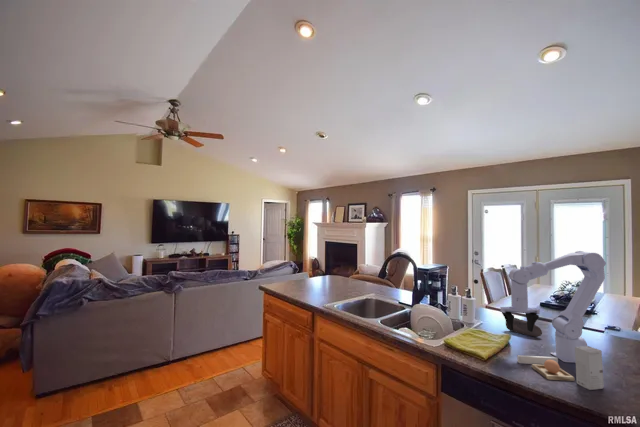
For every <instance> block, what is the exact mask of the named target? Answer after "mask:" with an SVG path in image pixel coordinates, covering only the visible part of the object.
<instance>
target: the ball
mask: <svg viewBox="0 0 640 427" xmlns="http://www.w3.org/2000/svg"><path fill="white" fill-rule="evenodd" d="M543 365H544V366H545V368H546V370H547V371H549V372H550V373H558V372H559V371H560V368H561V366H560V364H559V362H558V363H557V362H555V361H554V360H546V361H545V363H544V364H543Z"/></svg>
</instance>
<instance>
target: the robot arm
mask: <svg viewBox="0 0 640 427" xmlns="http://www.w3.org/2000/svg"><path fill="white" fill-rule="evenodd" d="M606 265H607V262H606V261H605V259H604V258H603V256H602V255H601V254H599V253H598V252H588V251H581V250H577V251H575V252H570V253H567V254H564V255H562V256H559V257H557V258H554V259H552V260H549V261H546V262H540V261H532V262H531V263H530V264H528V265H525V266H523V265H521V266H520V267H519V268H513V269H511V270H510V271H509V273H508V278H509V280H510V284H511V285H510V290H511V291H510V294H511V295H510V296H511V297H510V300H511V306H500V308H499V309H500V312H501V314H502V316H503V317H504V320H505V323H506V322H507V325H508V329H507V330H509V331H511V332H513V319H514V318H515V315H514V314H515V313H516V314H525V318H526V321H527V329H528V330H529V331H531V332H532V331H533V327H534V324H535V325H536V322H537V320H539V317H540V316H539V315H540V314H541V311H540V309H539V308H535V307H529V298H528V297H529V295H528V293H529V292H528V283H529V282H530V281H532V280H535V279H538V278H540V277H544V276H547V274H548V272H549V271H551V270H555V269H560V268H564V267H567V266H576V267H577V268H578V269H579V270H580V272H581V273H582V274H583V276H584V277H583V278H582V281H581V282H580V283H579V285H578V287H577V289H576V291H575V293H574V294H573V296H572V298H571V299H570V301H569V303H568V305H567V306H566V308H565V309H564V310H561V311H560V312H559V314H558V315H557V316H555V317H553V318H552V321H551V324H552V327H553V328H554V329H555V331H554V336H555V337H554V339H555V351H554V352H550V354H551V355H552V356H553V357H556V358H558V360H560V361H562V362H564V363H573V364H574V363H575V364H576V359H575V347H580V346H588V343H587V341H586V340H585V338H583V337H582V334H583V327H584V326H585V323H584V319H583V317H584V315H585V314H586V312H587V310H588V309H589V307H590V305H591V303H592V301H593V300H594V298H595V296H596V295H597V293H598V291H599V290H600V288H601V286H602V285H603V283H604V281H605V275H606V274H605V266H606Z"/></svg>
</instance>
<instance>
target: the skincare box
mask: <svg viewBox="0 0 640 427" xmlns="http://www.w3.org/2000/svg"><path fill="white" fill-rule="evenodd" d="M602 352H603V351H602V350H601V349H597V348H596V347H592V346H589V345H587V346H580V347H575V359H576V363H575V375H576V376H575V377H576V378H575V380H576V384H577V385H578V386H580V387H582V388H585V389H587V390H588V391H592V390H601V389H604V370H603V356H602V355H603V353H602Z"/></svg>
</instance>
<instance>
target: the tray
mask: <svg viewBox="0 0 640 427" xmlns="http://www.w3.org/2000/svg"><path fill="white" fill-rule="evenodd" d="M531 368H532V369H533V370H535V371H536V372H538V374H540V375H541V376H543V378H545V379H546V380H552V381H567V382H568V381H569V382H575V380H576V378H575V377H574V376H573V375H572V374H570V373H568V372H567V371H565V370H564V369H562V368H561V367H560V371H559V372H558V373H550V372H549V371H547V370H546V368H545V366H544V364H531Z"/></svg>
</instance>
